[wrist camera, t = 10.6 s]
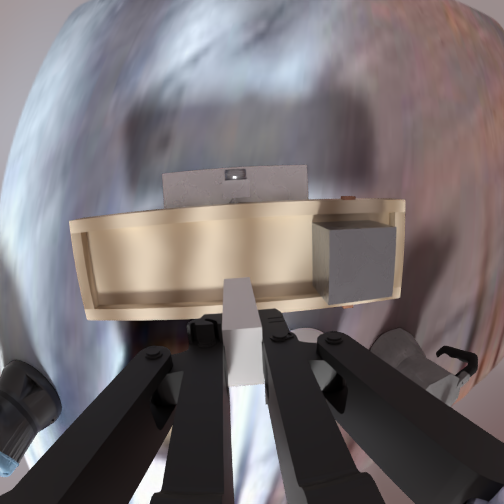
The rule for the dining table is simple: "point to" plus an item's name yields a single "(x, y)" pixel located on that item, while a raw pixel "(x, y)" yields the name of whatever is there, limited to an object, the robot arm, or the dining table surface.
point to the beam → (213, 256)
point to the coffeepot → (424, 364)
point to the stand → (235, 185)
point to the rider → (353, 260)
